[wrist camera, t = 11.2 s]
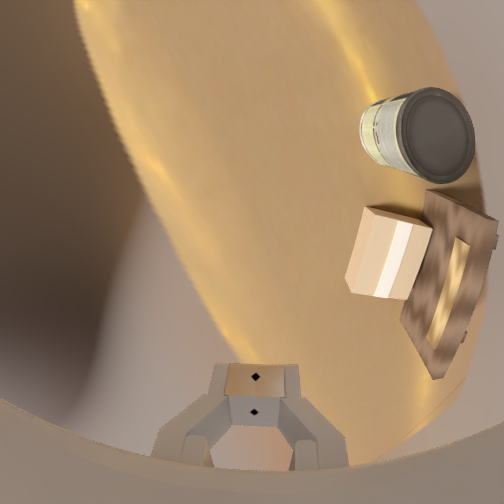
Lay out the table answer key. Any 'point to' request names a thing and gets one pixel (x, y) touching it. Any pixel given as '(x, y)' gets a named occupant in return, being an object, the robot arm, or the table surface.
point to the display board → (448, 279)
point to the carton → (387, 254)
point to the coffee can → (420, 134)
